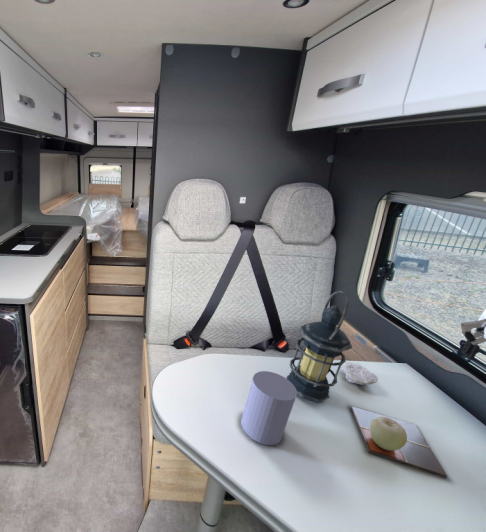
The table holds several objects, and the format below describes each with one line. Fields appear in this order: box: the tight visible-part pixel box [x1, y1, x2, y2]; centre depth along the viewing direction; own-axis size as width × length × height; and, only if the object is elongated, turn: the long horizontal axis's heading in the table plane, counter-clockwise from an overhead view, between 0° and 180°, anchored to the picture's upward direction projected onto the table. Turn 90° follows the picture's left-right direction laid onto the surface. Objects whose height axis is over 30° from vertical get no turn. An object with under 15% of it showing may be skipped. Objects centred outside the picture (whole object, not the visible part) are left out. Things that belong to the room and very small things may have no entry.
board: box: [350, 405, 448, 479], centre depth 83 cm, size 16×16×1 cm
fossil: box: [341, 362, 379, 386], centre depth 105 cm, size 9×6×10 cm
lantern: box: [286, 290, 353, 403], centre depth 92 cm, size 14×13×35 cm
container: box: [240, 370, 298, 446], centre depth 80 cm, size 10×10×15 cm
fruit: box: [370, 416, 407, 451], centre depth 79 cm, size 8×7×8 cm
